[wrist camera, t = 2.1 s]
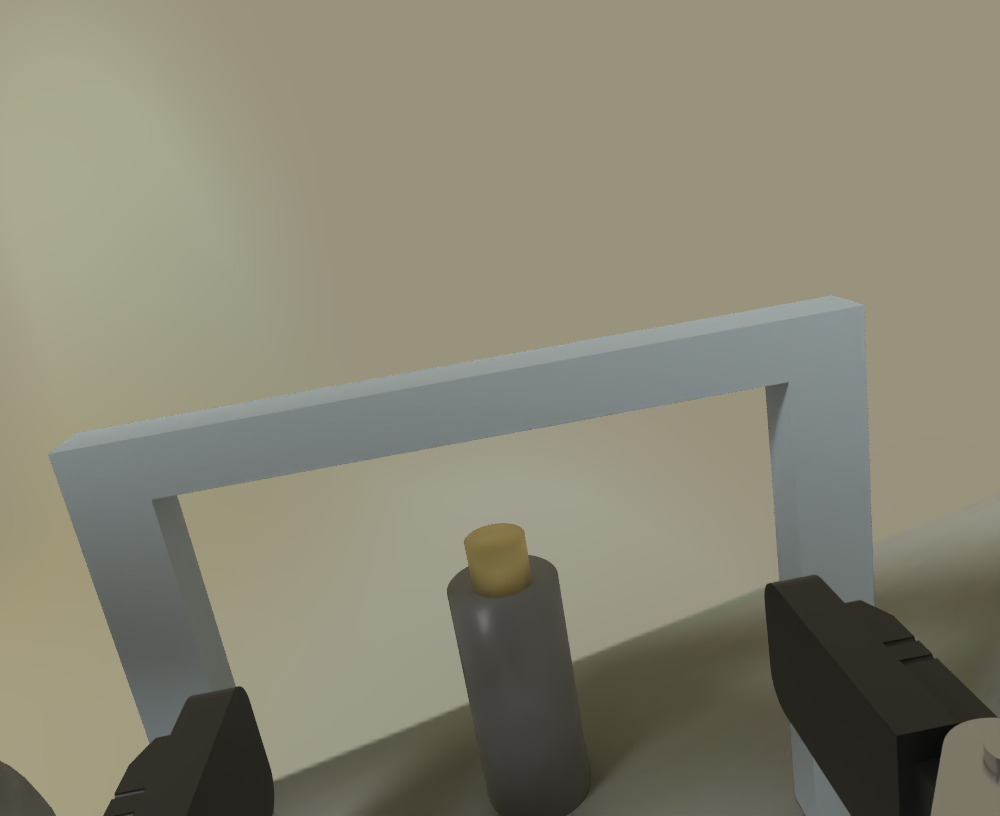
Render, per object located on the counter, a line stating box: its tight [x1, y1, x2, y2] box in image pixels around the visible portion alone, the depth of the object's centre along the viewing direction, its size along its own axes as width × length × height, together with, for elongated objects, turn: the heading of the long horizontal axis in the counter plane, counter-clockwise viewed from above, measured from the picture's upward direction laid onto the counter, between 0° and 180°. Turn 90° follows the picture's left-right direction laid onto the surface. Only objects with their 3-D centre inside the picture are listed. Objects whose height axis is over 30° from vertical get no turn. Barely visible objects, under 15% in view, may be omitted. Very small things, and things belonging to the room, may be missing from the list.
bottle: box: [447, 523, 590, 816], centre depth 34 cm, size 4×4×12 cm
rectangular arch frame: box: [48, 295, 875, 816], centre depth 29 cm, size 25×2×20 cm, turn 95°
